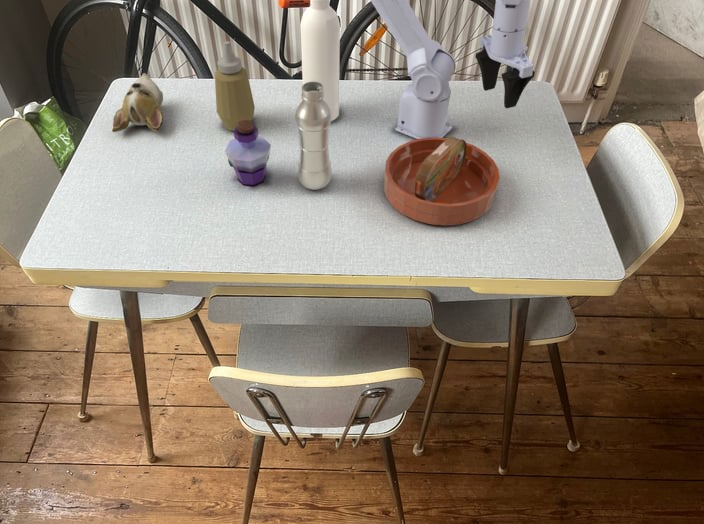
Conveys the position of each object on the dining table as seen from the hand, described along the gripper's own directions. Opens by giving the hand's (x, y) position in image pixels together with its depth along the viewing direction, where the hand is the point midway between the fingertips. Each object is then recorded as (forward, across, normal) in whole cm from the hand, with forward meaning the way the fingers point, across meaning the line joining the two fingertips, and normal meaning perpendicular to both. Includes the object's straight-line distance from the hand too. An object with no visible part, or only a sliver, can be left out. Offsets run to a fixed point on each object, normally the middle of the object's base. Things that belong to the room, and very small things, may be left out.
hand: (499, 97), depth 110 cm
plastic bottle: (+8, 0, +38) cm, 39 cm away
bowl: (+10, -10, +17) cm, 22 cm away
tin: (+10, -9, +17) cm, 22 cm away
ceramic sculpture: (+4, +34, +66) cm, 74 cm away
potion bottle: (+7, +6, +49) cm, 50 cm away
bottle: (+8, +23, +29) cm, 38 cm away
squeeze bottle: (+6, +26, +47) cm, 54 cm away
